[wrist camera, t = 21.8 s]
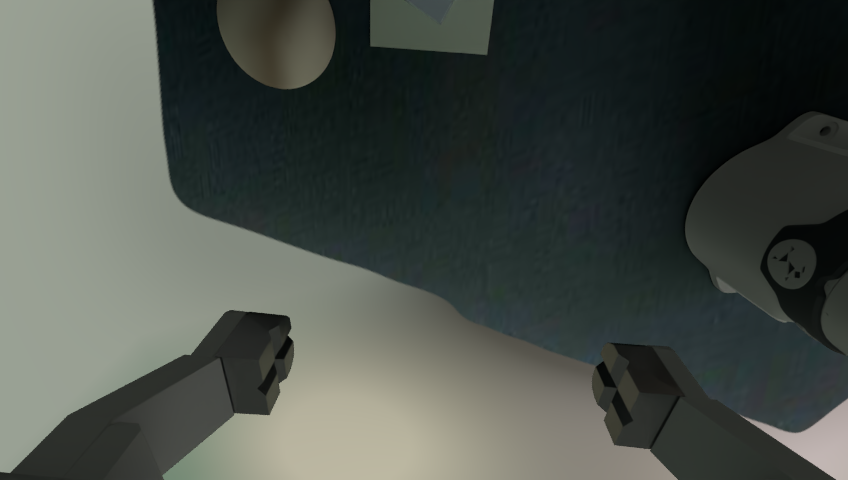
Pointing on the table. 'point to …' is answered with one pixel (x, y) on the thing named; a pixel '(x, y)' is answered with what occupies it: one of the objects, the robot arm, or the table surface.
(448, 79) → the table surface
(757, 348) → the table surface
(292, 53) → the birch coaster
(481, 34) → the sage mat
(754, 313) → the table surface
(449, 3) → the grey block
